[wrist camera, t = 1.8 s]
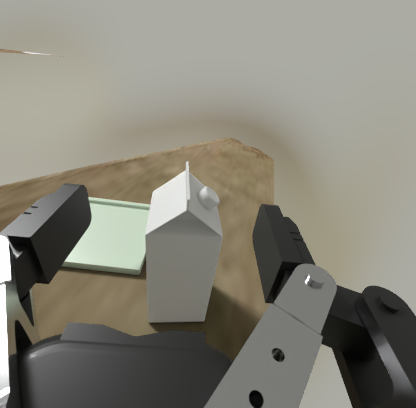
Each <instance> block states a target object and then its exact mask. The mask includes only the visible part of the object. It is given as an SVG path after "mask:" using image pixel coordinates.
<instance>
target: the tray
mask: <svg viewBox="0 0 416 408" xmlns="http://www.w3.org/2000/svg"><path fill="white" fill-rule="evenodd" d="M88 198H89V203H90V208H91V214H92V218H91V223H90V226H89V227H88V229H87V230H86V232H85V233H84V234H83V236H82V237H81V239H80V240H79V242H78V243H77V244H76V246H75V247H74V249H73V250H72V252H71V253H70V254H69V256H68V257H67V259H66V260H65V261H64V263H63V264H62V266H63V267H72V268H81V269H90V270H99V271H108V272H117V273H125V274H134V275H140V273H141V270H142V267H143V264H144V261H145V258H146V244H145V231H146V226H147V221H148V215H149V210H150V205H149V204H141V203H133V202H124V201H116V200H108V199H100V198H92V197H88Z"/></svg>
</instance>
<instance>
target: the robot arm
mask: <svg viewBox="0 0 416 408" xmlns="http://www.w3.org/2000/svg"><path fill="white" fill-rule="evenodd" d="M91 218H92V214H91V208H90V203H89V198H88V193H87V189H86V187H85V186H84V185H77V184H67V183H66V184H64V185H62V186H61V187H60V188H59V189H58V190H57V191H56V192H55V193H51V194H49V195H47V196H45V197H43V198H40V199H39V200H38V201H37V202H35V203H34V204H33V205H32V206H31V208H28V209H27V210H26V211H25V212H24V214H21V215H20V216H19V217H18V218H17V219H16V220H14V221H13V222H12V223H11V224H10V225H9V226H7V227H6V228H5V229H4V230H3V231H2V232H0V408H298V407H299V404H300V401H301V399H302V396H303V393H304V390H305V387H306V384H307V382H308V379H309V376H310V373H311V370H312V368H313V365H314V362H315V359H316V356H317V354H318V351H319V348H320V345H321V344H323V345H326V346H328V347H331V348H332V350H333V352H334V355H335V358H336V361H337V364H338V367H339V370H340V372H341V375H342V378H343V381H344V384H345V387H346V390H347V393H348V396H349V399H350V401H351V404H352V407H353V408H416V316H415V315H414V313H413V312H412V310H411V309H410V308H409V307H408V305H407V304H406V303H405V302H404V301H403V300H402V299H401V298H400V297H399V296H397V295H396V294H394V293H393V292H391V291H389V290H387V289H385V288H382V287H379V286H368V287H366V288H365V289H364V291H363V292H362V293H358V292H355V291H352V290H349V289H346V288H344V287H341V286H338V285H336V282H335V280H334V279H333V277H332V276H331V275H330V274H329V273H327V271H325V270H324V269H322V268H320V267H318V266H316V265H315V263H314V261H313V259H312V257H311V255H310V252H309V250H308V248H307V246H306V244H305V242H304V241H303V238H302V236H301V235H300V232H299V229H298V227H297V225H296V224H295V223H294V222H293V221H292V220H291V219H290V218H289V217H283V215H282V213H281V211H280V208H279V206H277V205H267V204H261V206H260V208H259V212H258V215H257V219H256V223H255V226H254V230H253V246H254V250H255V255H256V260H257V265H258V269H259V274H260V279H261V284H262V289H263V293H264V298H265V303H271V304H270V306H269V307H268V309H267V310H266V312H265V313H264V315H263V316H262V318H261V320H260V321H259V323H258V324H257V326H256V327H255V329H254V331H253V332H252V334H251V335H250V337H249V338H248V340H247V341H246V343H245V345H244V346H243V348H242V349H241V351H240V352H239V354H238V355H237V357H236V359H235V360H234V362H233V361H232V360H231V359H230V358H229V357H228V356H227V355H226V354H224V353H223V352H222V351H220V350H219V349H217V348H215V347H213V346H211V345H209V344H206V343H205V333H204V332H191V331H177V330H170V331H165V332H159V333H154V334H149V335H143V336H131V335H129V334H126V333H123V332H121V331H118V330H115V329H113V328H110V327H107V326H105V325H98V324H85V323H72V322H68V324H67V326H66V328H65V330H64V332H63V334H59V335H55V336H52V337H49V338H46V339H44V340H40V336H39V332H38V326H37V319H36V313H35V306H34V299H33V293H32V291H31V288H32V286H33V285H34V284H35V283H42V284H49V283H50V281H51V280H52V279H53V277H54V276H55V274H56V273H57V271H58V270H59V269H60V267H61V266H62V264H63V263H64V261H65V260H66V259H67V257H68V256H69V254H70V253H71V252H72V250H73V249H74V247H75V246H76V244H77V243H78V242H79V240H80V239H81V237H82V236H83V234H84V233H85V232H86V230H87V229H88V227H89V226H90V223H91ZM381 358H382V359H381ZM382 360H383V361H382ZM383 362H384V363H383ZM384 364H385V365H384ZM385 366H386V367H385ZM386 368H387V369H386ZM387 370H388V371H387ZM388 372H389V373H388ZM389 374H390V375H389ZM390 376H391V377H390ZM391 378H392V379H391Z"/></svg>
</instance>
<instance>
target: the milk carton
mask: <svg viewBox="0 0 416 408" xmlns="http://www.w3.org/2000/svg"><path fill="white" fill-rule="evenodd" d="M219 202H220V201H219V198H218V196H217V195H216V193H215V192H214V191H213V190H212V189H211V188H209V187H207V186H204V185H203V184H202V183H201V182H200V181H199V180H197V179H196V178H195V177H194V176H193V175H192V174H191V173H190V172H189V166H188V161H186V170H185V171H184V172H182V173H181V174H179V175H178V176H176V177H175V178H173V179H172V180H170V181H169V182H167V183H166V184H164V185H162V186H161V187H159V188H158V189H156V190H155V191H153V194H152V199H151V205H150V210H149V215H148V221H147V226H146V231H145V244H146V272H147V300H148V322H149V323H150V322H199V321H205V317H206V312H207V308H208V303H209V299H210V294H211V290H212V285H213V281H214V276H215V272H216V267H217V263H218V258H219V254H220V249H221V245H222V240H223V234H222V229H221V224H220V219H219V214H218V209H217V205H218V204H219Z"/></svg>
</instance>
